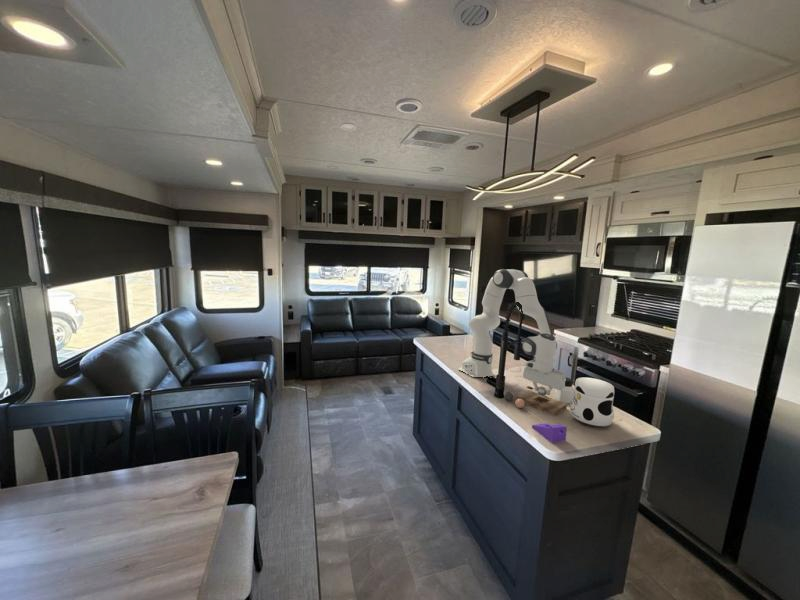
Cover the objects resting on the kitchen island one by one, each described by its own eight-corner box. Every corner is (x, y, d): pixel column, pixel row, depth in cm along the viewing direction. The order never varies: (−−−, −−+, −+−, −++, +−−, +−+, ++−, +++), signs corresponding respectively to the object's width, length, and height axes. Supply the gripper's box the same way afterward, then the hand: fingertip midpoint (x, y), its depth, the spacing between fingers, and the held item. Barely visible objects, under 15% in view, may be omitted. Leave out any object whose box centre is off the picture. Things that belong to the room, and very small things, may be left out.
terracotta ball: (513, 407, 159) (513, 398, 159) (517, 404, 162) (518, 396, 162) (521, 410, 156) (522, 401, 155) (526, 407, 159) (526, 399, 158)
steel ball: (539, 392, 165) (540, 384, 165) (548, 395, 162) (549, 387, 161) (535, 394, 163) (536, 386, 162) (544, 398, 159) (544, 389, 159)
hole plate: (516, 400, 167) (517, 396, 166) (528, 394, 174) (529, 390, 174) (555, 415, 152) (555, 410, 151) (566, 408, 159) (566, 403, 159)
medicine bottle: (568, 397, 172) (570, 376, 170) (574, 403, 165) (576, 381, 163) (554, 396, 173) (556, 375, 171) (559, 402, 166) (561, 380, 164)
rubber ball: (502, 399, 167) (503, 391, 167) (507, 397, 170) (507, 389, 170) (510, 402, 164) (510, 394, 163) (514, 400, 167) (515, 392, 166)
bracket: (565, 441, 131) (567, 425, 130) (551, 443, 129) (553, 428, 128) (544, 426, 143) (546, 411, 142) (531, 428, 141) (533, 413, 140)
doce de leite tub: (561, 411, 156) (565, 376, 153) (594, 411, 158) (598, 376, 155) (585, 431, 139) (589, 392, 136) (622, 430, 140) (627, 391, 138)
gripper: (568, 371, 154) (565, 398, 156) (528, 359, 170) (526, 384, 172) (563, 373, 150) (560, 401, 152) (522, 361, 166) (520, 387, 168)
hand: (542, 392), depth 162 cm, fingers closed on steel ball, 4 cm apart
